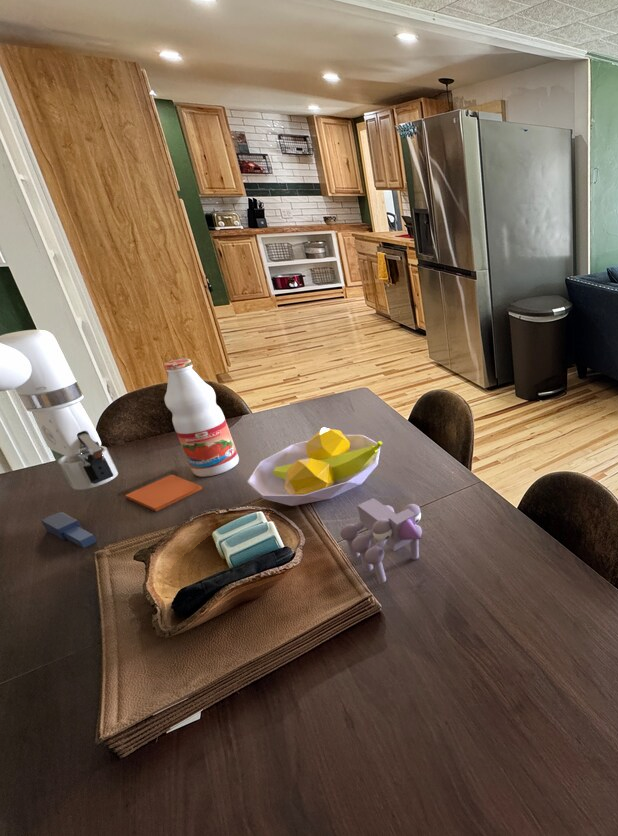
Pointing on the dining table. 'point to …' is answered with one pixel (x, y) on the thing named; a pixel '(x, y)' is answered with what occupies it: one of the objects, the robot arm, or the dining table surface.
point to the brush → (68, 529)
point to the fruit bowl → (316, 468)
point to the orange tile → (163, 492)
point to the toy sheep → (382, 533)
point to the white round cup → (83, 470)
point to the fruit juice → (198, 421)
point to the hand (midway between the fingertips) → (93, 475)
